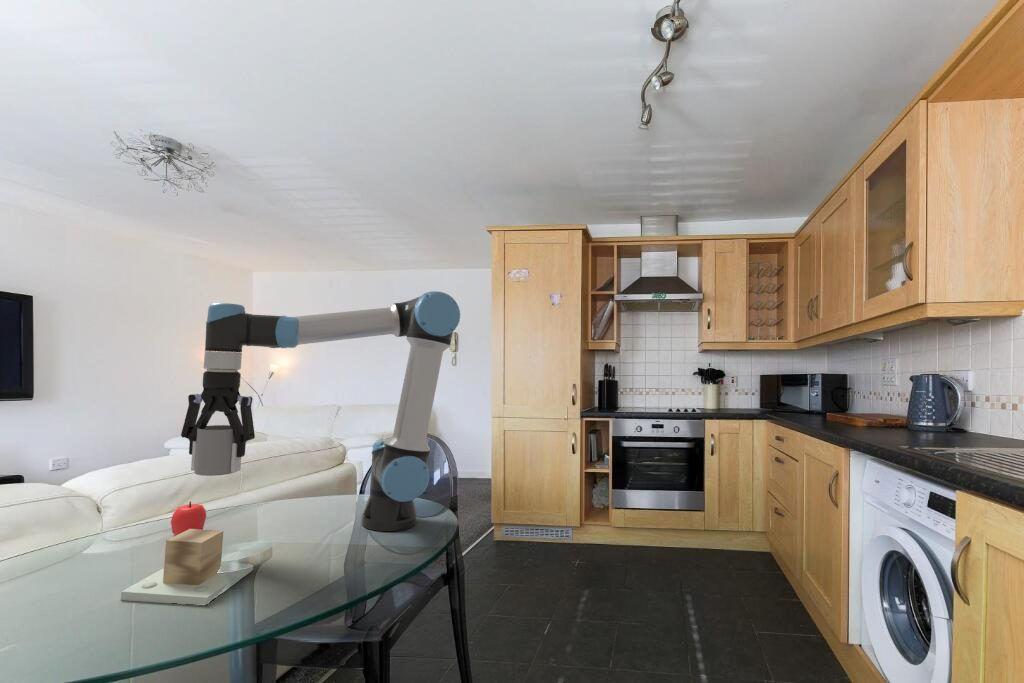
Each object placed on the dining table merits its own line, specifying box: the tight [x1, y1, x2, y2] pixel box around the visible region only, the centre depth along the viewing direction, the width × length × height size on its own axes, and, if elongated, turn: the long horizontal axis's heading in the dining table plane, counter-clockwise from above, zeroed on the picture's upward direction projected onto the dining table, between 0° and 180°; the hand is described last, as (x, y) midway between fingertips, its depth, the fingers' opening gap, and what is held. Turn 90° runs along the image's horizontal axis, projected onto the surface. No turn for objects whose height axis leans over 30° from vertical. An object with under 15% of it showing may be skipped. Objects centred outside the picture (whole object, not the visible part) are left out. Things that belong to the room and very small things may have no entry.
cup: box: [194, 424, 236, 477], centre depth 119 cm, size 8×8×10 cm
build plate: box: [120, 567, 228, 605], centre depth 103 cm, size 16×16×2 cm
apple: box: [170, 501, 207, 536], centre depth 130 cm, size 8×8×8 cm
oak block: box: [163, 529, 224, 585], centre depth 103 cm, size 7×7×8 cm
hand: (216, 470), depth 119 cm, fingers closed on cup, 8 cm apart
